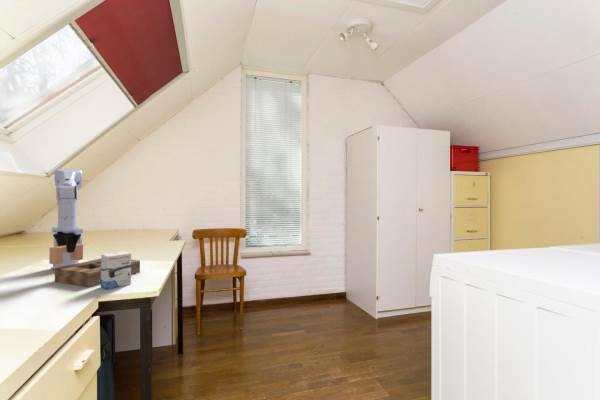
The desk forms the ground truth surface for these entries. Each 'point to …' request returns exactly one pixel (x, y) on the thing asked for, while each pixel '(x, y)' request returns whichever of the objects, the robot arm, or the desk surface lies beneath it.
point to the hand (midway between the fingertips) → (67, 251)
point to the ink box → (115, 269)
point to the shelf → (86, 273)
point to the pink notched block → (58, 251)
